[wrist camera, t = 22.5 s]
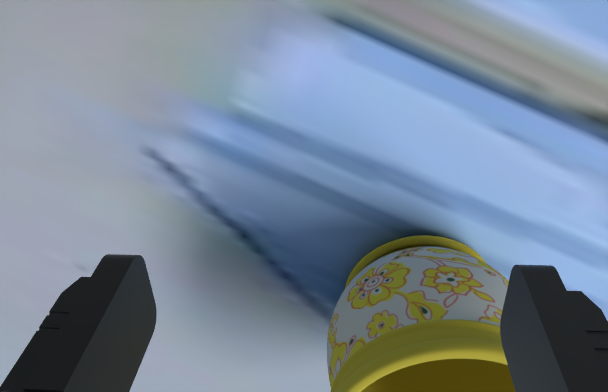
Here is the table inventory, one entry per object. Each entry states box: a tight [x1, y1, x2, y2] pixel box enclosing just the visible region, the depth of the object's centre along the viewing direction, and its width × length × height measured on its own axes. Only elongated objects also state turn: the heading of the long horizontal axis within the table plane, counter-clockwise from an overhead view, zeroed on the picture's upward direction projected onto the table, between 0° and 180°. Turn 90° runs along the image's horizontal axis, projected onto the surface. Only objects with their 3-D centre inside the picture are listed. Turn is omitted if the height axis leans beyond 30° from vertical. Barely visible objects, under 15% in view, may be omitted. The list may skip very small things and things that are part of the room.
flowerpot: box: [327, 235, 516, 392], centre depth 47 cm, size 18×18×16 cm
